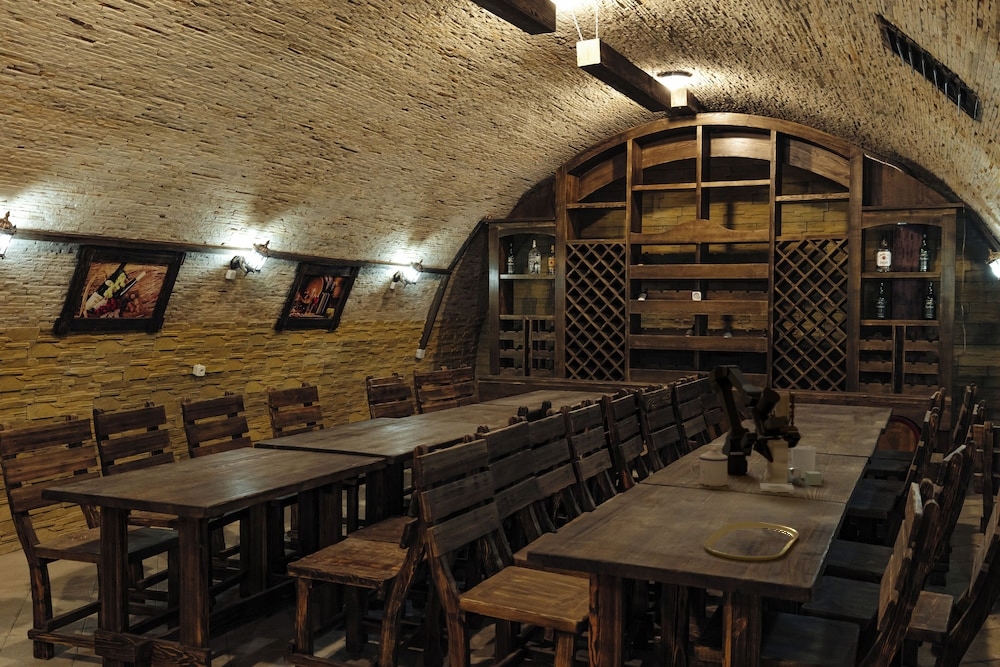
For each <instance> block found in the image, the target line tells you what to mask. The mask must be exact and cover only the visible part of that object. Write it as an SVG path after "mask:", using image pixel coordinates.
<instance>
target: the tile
mask: <svg viewBox="0 0 1000 667" xmlns="http://www.w3.org/2000/svg"><path fill="white" fill-rule="evenodd" d="M759 488H761V489H760V492H761V491H771V492H770V493H777V492H789V493H788V494H795V493H796V490H795V488H794V485H792V484H787V483H778V484H774V483H770V482H769V483H768V482H767V483H766V482H760V483H759Z"/></svg>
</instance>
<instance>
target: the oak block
mask: <svg viewBox="0 0 1000 667" xmlns="http://www.w3.org/2000/svg"><path fill="white" fill-rule="evenodd" d="M767 445H768V448H769V450H770V453H771V455H772V458H773V463H771V462H769V461H768V460H767V459H766V460H767V461H766V462H767V463H766V464H767V465H766V481H767V482H769V483H770V484H787V467H788V463H789V462H788V461H789V457H788V456H789V455H788V454H789V448H788V442H786V441H783V440H768V443H767Z"/></svg>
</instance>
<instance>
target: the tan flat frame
mask: <svg viewBox="0 0 1000 667" xmlns="http://www.w3.org/2000/svg"><path fill="white" fill-rule="evenodd" d="M761 528H768V529H767V530H770V528H771V529H776V530H780V531H784V532H787V533H788V534H790V535H791V536H792V537H793V539H792V537H791V536H790V535H789V536H790V537H791V540H790V541H789V542H788V543H787V544H786V545H785V547H784V548H783V549H782V550H781V551H780V552H779V553H778V554H774V555H764V556H759V555H758V556H752V555H751V556H747V555H746V556H745V555H737V554H730V553H726V552H720V551H718V550H714V549H712V548H711V547H712V546H714V545H715V544H716V543H717V542H718V541H719V540H721V539H722V538H723V537H725V536H726V535H727V534H728V533H729V532H731V531H734V530H740V529H761ZM776 530H775V531H776ZM780 531H779V532H780ZM784 532H783V533H784ZM788 534H787V535H788ZM799 536H800V535H799V532H798V531H797V530H795V529H793V528H791V527H788V526H784V525H780V524H774V523H768V522H756V521H755V522H754V521H753V522H752V521H744V522H743V521H742V522H731V523H728V524H725V525H723V526H721V527H720V528H719V529H718V530H717V531H715V532H714V533H713V534H711V536H709V537H708V538H707V539H705V541H703V546H704V548H705V549H706V550H707V551H708V552H709V553H711V554H712V555H716V556H719V557H722V558H725V559H731V560H738V561H746V562H747V561H749V562H750V561H753V562H755V561H756V562H761V561H771V560H776V559H779V558H780V557H782V556H783V555H784V554H785V553H786V552H787V550H788V549H790V547H791V546H792V545H793V544H794V542H795V541H796V540H797V539H798V538H799Z"/></svg>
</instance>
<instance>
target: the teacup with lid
mask: <svg viewBox="0 0 1000 667" xmlns="http://www.w3.org/2000/svg"><path fill="white" fill-rule="evenodd" d="M727 460H728V457H727V456H726V455H723V454H722V452H720V451H718V448H716V447H710V450H709V451H706V452H705V453H702V454H700V456H699V460H698V459H697V460H693V461H692V462H691V463H690V471H691V472H692V474H693V475H694V476H697V477H699V483H700V485H703V484H704V485H703V486H707V485H709V486H708V487H724V485H725V486H726V485H728V474H727ZM695 463H697V464H700V465H699V473H698V472H696V471H695V469H694V464H695Z"/></svg>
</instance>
